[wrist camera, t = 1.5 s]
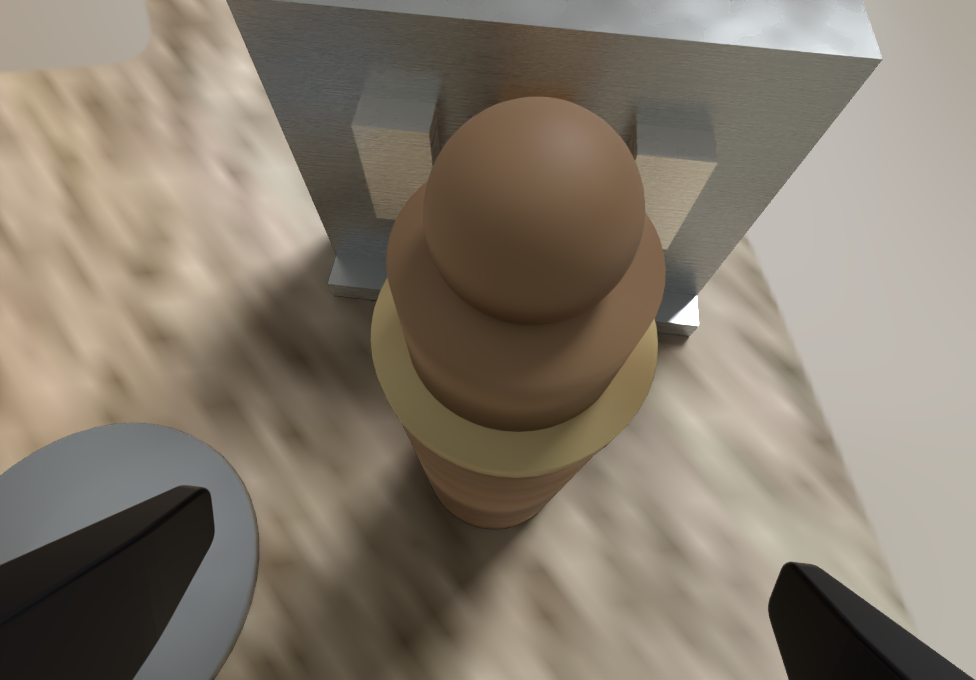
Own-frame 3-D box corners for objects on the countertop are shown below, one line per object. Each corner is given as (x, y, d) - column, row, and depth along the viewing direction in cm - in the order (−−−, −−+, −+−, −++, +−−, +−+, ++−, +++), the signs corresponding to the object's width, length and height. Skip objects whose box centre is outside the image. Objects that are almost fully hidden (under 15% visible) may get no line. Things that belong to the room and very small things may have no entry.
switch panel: (689, 336, 22) (897, 103, 11) (333, 295, 22) (202, 34, 12) (682, 227, 25) (846, -48, 14) (363, 193, 25) (277, -99, 14)
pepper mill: (546, 547, 18) (813, 436, 4) (407, 508, 19) (183, 280, 4) (572, 412, 20) (802, 22, 6) (448, 380, 21) (388, -52, 7)
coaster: (156, 836, 15) (144, 846, 14) (-165, 721, 16) (-188, 727, 15) (308, 468, 19) (303, 464, 19) (54, 397, 20) (42, 392, 20)
